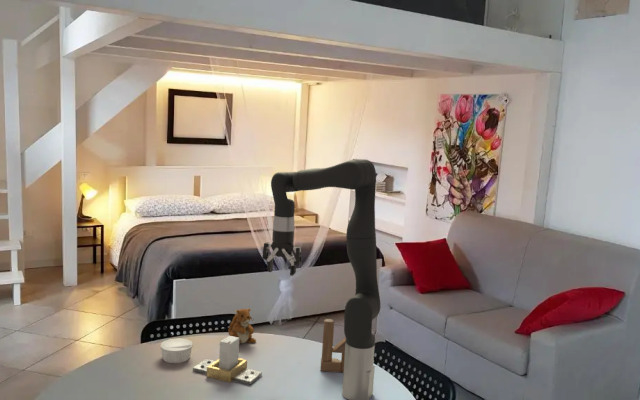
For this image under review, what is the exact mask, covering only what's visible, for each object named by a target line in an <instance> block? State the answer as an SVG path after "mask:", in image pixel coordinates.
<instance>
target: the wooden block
mask: <svg viewBox="0 0 640 400" xmlns="http://www.w3.org/2000/svg"><path fill="white" fill-rule="evenodd" d="M334 329H335V321H334V319H333V318H332V319H331V318H325V319H324V320H323V331H322V332H323V333H322V334H323V335H322V349H321V351H322V352H321V358H320V372H330V373H331V372H332V373H333V372H334V373H342V374H343V373H344V358H345V343H346V337H345V336H344V338H342V339H341V340H340V341H339V342H337V344H335V345H334V333H335V331H334ZM333 345H334V346H333ZM333 353H335V354H336V353H337V354H339V353H340V354H341V358H340V359H341V360H340V359H339V358H336V357H335V358H333Z"/></svg>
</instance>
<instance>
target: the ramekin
mask: <svg viewBox="0 0 640 400" xmlns="http://www.w3.org/2000/svg"><path fill="white" fill-rule="evenodd" d="M193 344H194V343H193V342H192V341H191V340H189V339H186V338H180V337H178V338H177V337H176V338H170V339H165V340H164V341H162V342H161V343H160V346H159V347H160V350H161V352H160V353H161V358H162V360H164V361H165V362H166V363H170V364H181V363H185V362H186V361H188V360H189V359H190V358H191V354H192V348H193Z"/></svg>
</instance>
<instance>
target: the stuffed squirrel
mask: <svg viewBox="0 0 640 400" xmlns="http://www.w3.org/2000/svg"><path fill="white" fill-rule="evenodd" d="M251 310H252V309H251V308H241V309H235V310H234V312H235V314H234V315H233V318H232V320H231V322H230V323H229V326H228V330H227V331H228V336H234V337H238V338H239V345H240V344H245V343H250V344H256V343H257V340H256V338H254V337H253V334H254V332H255V330H254V328H253V326H252V325H251V324H250V323H249V322H250V321H252V322H253V321H254V320H255V319H254V318H253V317H252V316H251V315H250V311H251Z"/></svg>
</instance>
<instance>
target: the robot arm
mask: <svg viewBox="0 0 640 400" xmlns="http://www.w3.org/2000/svg"><path fill="white" fill-rule="evenodd" d="M271 177H272V178H271V180H270V188H271V189H270V190H271V193H272V197H273V201H274V202H273V203H274V209H273V210H274V212H273V213H274V214H273V221H272V237H271V238H272V243H271V242H269V241H267V242H264V243H263V247H262V248H263V250H262V259H263V260H265V261H266V263H267V264H266V265H267V267H266V270H267V271H268V273H272V272H273V269H274V261H273V260H274V259H275V258H280V257H281V258H284V259H287V261H288V262H289V263H290V269H289V270H290V271H289V272H290V273H289V276H290V277H293V276H295V274H296V273H297V265H300V264H302V262H303V261H302V260H303V257H302V256H303V254H302V253H303V247H302V246H295V245H294V243H295V242H294V240H295V239H294V238H295V237H294V236H295V201H294V200H293V199H290V198H288V195H287V193H295V192H300V191H303V192H304V191H313V190H315V191H316V190H321V189H323V188H324V189H325V188H339V189H346V190H351V191H352V190H354V196H355V199H354V207H353V210H352V214H351V216H350V219H349V221H348V224H347V228H346V232H345V233H346V237H345V238H346V252H347V256H348V260H349V262H350V265H351V267H352V270H353V272H354V276H355V294H354V296H351V297H350V298H349V299H348V300H347V302H346V305H345V308H344V314H343V315H344V318H343V319H344V321H343V334H344V338H345V337H346V343H345V358H344V373H342V374H343V375H342V376H343V377H342V387H341V388H342V389H341V391H342V393H341V394H342V396H343V397H344V398H345V399H347V400H370V399H371V397H372V396H373V394H374V384H375V383H374V382H375V381H374V379H375V368H376V367H375V365H374V360H375V359H374V358H375V356H374V355H375V347H376V337H375V334H374V333H372V332H373V331H372V329H373V320H375V319H376V318H377V317H378V315H380V311H381V299H380V292H379V291H380V290H379V283H378V275H377V274H378V273H377V272H378V267H377V265H378V264H377V234H376V233H377V232H376V188H377V172H376V167H375V165H374V163H373V162H372V161H371V160H368V159H366V158H359V159H358V158H357V159H349V160H346V161H344V162H340V163H338V164H335V165H332V166H328V167H321V168H320V167H319V168H318V167H317V168H308V169H307V168H306V169H300V170H298V171H280V172H276V173H274V174H273V176H271ZM270 249H271V250H272V252H271V253H270ZM293 251H294V253H293ZM269 253H270V254H269Z"/></svg>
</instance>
